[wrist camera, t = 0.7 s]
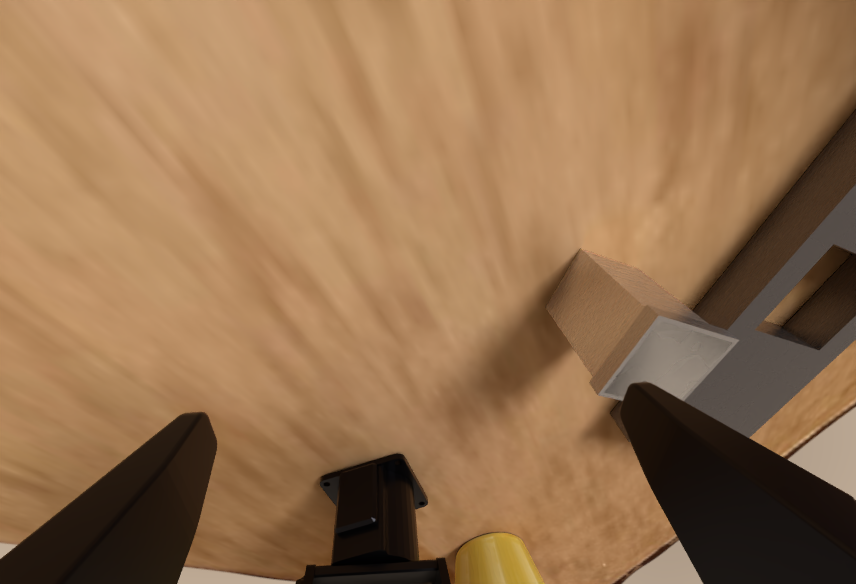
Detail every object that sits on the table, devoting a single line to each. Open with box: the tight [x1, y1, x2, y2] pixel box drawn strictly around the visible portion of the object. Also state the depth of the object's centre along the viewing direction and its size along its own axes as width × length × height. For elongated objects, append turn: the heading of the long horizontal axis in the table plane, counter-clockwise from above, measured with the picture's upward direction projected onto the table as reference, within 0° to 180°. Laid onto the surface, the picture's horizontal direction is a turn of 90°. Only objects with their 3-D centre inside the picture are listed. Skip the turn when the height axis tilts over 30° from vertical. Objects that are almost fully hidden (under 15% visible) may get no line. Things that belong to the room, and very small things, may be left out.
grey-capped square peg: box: [545, 248, 739, 401], centre depth 20 cm, size 4×4×7 cm
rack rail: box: [610, 110, 856, 442], centre depth 23 cm, size 26×9×2 cm, turn 159°
